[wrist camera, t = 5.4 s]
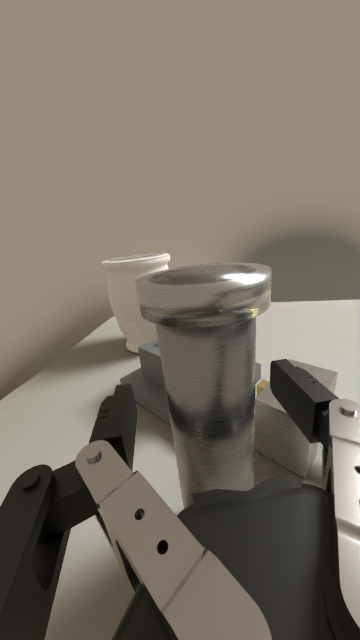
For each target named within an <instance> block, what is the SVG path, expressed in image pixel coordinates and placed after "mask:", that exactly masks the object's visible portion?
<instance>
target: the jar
mask: <svg viewBox="0 0 360 640" xmlns="http://www.w3.org/2000/svg"><path fill="white" fill-rule="evenodd" d="M169 255H170V254H167V253H166V254H165V253H153V254H142V255H134V256H127V257H120V258H114V259H110V260H106V261H104V262H102V267H103V268H104V269H105V270H107V272H108V276H107V287H108V295H109V300H110V304H111V307H112V310H113V312H114V315H115V317H116V319H117V322H118V325H119V327H120V329H121V331H122V333H123V334H124V336H125V337H126V338H127V339H128V340H127V342H126V347H127V349H128V350H129V351H131V352H134V353H139V352H138V347H139V346H141V345H143V344H145V343H147V342H149V341H151V340H153V339H155V338H157V332H156V325H155V324H154V323H151V322H149V321H147V320H145V319H144V318H143V317H142V316H141V313H140V308H139V302H138V296H137V291H136V285H135V281H136V280H137V279H138V278H140V277H142V276H144V275H147V274H150V273H154V272H158V271H162V270H167V269H169V268H168V266H167V262H168V261H169V260H170V256H169Z"/></svg>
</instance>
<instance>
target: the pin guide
mask: <svg viewBox="0 0 360 640" xmlns="http://www.w3.org/2000/svg"><path fill="white" fill-rule="evenodd" d="M288 361H289V362H290V363H291V364H292V365H294V366H295V367H296V366H298V367H300V368H302V369H304V370H306V371H308V372H309V373H310V374H311V375H312V376H313V377H314V378H316V379H317V380H318V381H319V383H321V384H323V385H324V386H325V387H326V388H327V389H328V390H330V391H331V392H332V393H333V394H334V392H335V386H336V379H337V373H338V372H334V371H331V370H327V369H323V368H320V367H316V366H312V365H308V364H305V363H301V362H297V361H294V360H290V359H289V360H288ZM316 449H317V443H312V444H311V443H310V442H309V441H308V440H307V438H306V437H305V436H304V434H303V433H302V432H301V431H300V429H299V428H298V427H297V425H296V424H295V423H294V421H293V420H292V419H291V418H290V416H289V415H288V414H287V412H286V411H285V410H284V408H283V407H282V406H281V405H280V403H279V402H278V401H277V399H276V398H275V397H274V395H273V394H272V391H271V388H270V382H269V384H268V385H267V386H266V387H265V388H264V389H263V391H262V392H261V393H260V394H259V395H258V396H257V398H256V399H255V450H256V451H257V452H259V453H261V454H262V455H264V456H266V457H268V458H269V459H271V460H273V461H274V462H276V463H278V464H280V465H281V466H283V467H285V468H286V469H288V470H290V471H292V472H293V473H295V474H297V475H298V476H300V477H302V478H304V479H306V477H307V474H308V472H309V470H310V467H311V465H312V462H313V460H314V458H315V455H316Z"/></svg>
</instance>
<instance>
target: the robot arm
mask: <svg viewBox="0 0 360 640" xmlns="http://www.w3.org/2000/svg"><path fill="white" fill-rule="evenodd" d="M270 388H271V391H272V394H273V395H274V397H275V398H276V399H277V401H278V402H279V403H280V405H281V406H282V407H283V408H284V410H285V411H286V412H287V414H288V415H289V416H290V418H291V419H292V420H293V421H294V423H295V424H296V425H297V427H298V428H299V429H300V431H301V432H302V433H303V434H304V436H305V437H306V438H307V440H308V441H309V442H310V443H311V444H312V443H317V442H321V443H322V444H323V450H322V489H321V488H319V487H316V486H313V485H309V484H304V483H300V481H299V480H298V478H297V476H296V475H295V474H292V475H286V476H281V477H276V478H271V479H269V480H267V481H265V482H263V483H261V484H259V485H258V486H256V487H254V488H252V489H250V490H248V491H237V490H225V489H215V490H210V491H204V492H199V493H194V494H192V500H193V504H191V505H190V506H188V507H186V508H185V509H184V510H182V511H181V512H180V513H179V514H178V515H177V516H176V515H175V514H174V512H173V511H172V510H171V509H170V508H169V507H168V505H167V504H166V503H165V502H164V501H163V499H162V498H161V497H160V496H159V495H158V493H157V492H156V491H155V490H154V489H153V488H152V486H151V485H150V484H149V483H148V482H147V480H146V479H145V478H144V477H143V476H142V475H141V473H139V472H138V471H136V472H134V473H133V472H132V467H133V456H134V444H135V433H136V421H137V410H136V404H135V400H134V395H133V390H132V386H131V383H128V384H121V385H116V388H115V392H114V395H113V396H107V397H106V398H105V400H104V401H103V402H102V403H101V406H100V409H99V413H98V415H97V420H96V422H95V425H94V428H93V431H92V435H91V438H90V441H89V444H88V445H86V446H85V447H84V448H82V449H81V451H80V452H79V453H78V455H77V457H76V460H75V461H73V462H71V463H69V464H67V465H65V466H63V467H61V468H58V469H56V470H54V471H52V469H51V467H50V466H48V465H38V466H35V467H32V468H30V469H28V470H27V471H25V472H24V473H23V474H21V475H20V476H19V477H18V478H17V479H16V480H15V482H14V483H13V484H12V486H11V488H10V490H9V491H8V493H7V495H6V497H5V499H4V501H3V503H2V505H1V507H0V640H44V638H45V634H46V630H47V626H48V622H49V617H50V613H51V609H52V605H53V601H54V597H55V592H56V588H57V584H58V580H59V576H60V572H61V568H62V563H63V559H64V555H65V551H66V547H67V543H68V538H69V534H70V530H71V528H72V527H74V526H75V525H77V524H79V523H81V522H83V521H85V520H86V519H88V518H90V517H92V516H95V518H96V519H97V521H98V523H99V525H100V527H101V529H102V531H103V533H104V535H105V537H106V539H107V540H108V542H109V544H110V546H111V548H112V550H113V552H114V554H115V556H116V558H117V560H118V563H119V565H120V567H121V569H122V572H123V574H124V576H125V578H126V580H127V582H128V584H129V586H130V588H131V589H132V591H133V593H134V596H133V598H132V600H131V602H130V604H129V606H128V608H127V610H126V612H125V614H124V616H123V618H122V620H121V622H120V624H119V626H118V628H117V630H116V632H115V634H114V636H113V638H112V640H360V404H358V403H356V402H353V401H350V400H347V399H339V398H338V397H337V396H335V395H334V394H333V393H332V392H331V391H330V390H328V389H327V388H326V387H325V386H324V385H323V384H321V383H319V381H318V380H317V379H316V378H314V377H313V376H312V375H311V374H310V373H309V372H308V371H306V370H304V369H302V368H300V367H298V366H296V367H295V366H294V365H292V364H291V363H290V362H289V361H288V360H287V359H282V360H276V361H272V362H271V368H270Z"/></svg>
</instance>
